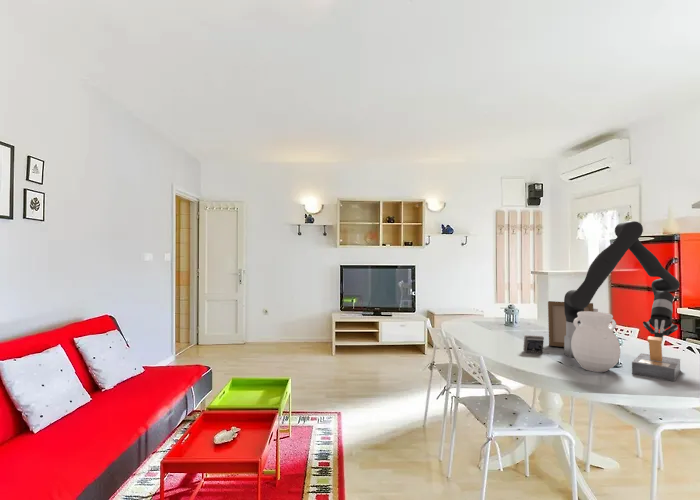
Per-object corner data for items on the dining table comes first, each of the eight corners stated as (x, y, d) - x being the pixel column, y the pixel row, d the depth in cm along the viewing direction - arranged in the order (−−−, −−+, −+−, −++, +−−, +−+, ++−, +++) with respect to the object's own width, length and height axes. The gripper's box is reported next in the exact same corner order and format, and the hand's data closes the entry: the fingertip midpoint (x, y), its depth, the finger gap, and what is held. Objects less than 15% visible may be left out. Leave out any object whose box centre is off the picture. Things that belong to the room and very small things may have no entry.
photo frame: (595, 351, 203) (595, 304, 203) (549, 347, 211) (549, 302, 212) (590, 345, 216) (589, 301, 217) (547, 342, 225) (547, 299, 226)
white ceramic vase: (582, 374, 162) (582, 315, 162) (564, 362, 180) (564, 309, 181) (630, 376, 159) (629, 317, 160) (606, 364, 178) (606, 310, 178)
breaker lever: (649, 360, 167) (647, 339, 164) (650, 356, 169) (648, 336, 166) (662, 362, 164) (661, 341, 161) (663, 358, 166) (662, 337, 163)
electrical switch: (542, 352, 200) (542, 334, 199) (545, 355, 195) (545, 337, 194) (523, 351, 202) (523, 334, 201) (525, 354, 197) (525, 337, 196)
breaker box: (632, 373, 164) (632, 361, 164) (640, 363, 179) (640, 352, 179) (674, 381, 154) (674, 368, 154) (680, 370, 169) (680, 358, 169)
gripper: (643, 304, 181) (638, 334, 172) (679, 307, 172) (676, 338, 163) (645, 314, 185) (640, 343, 176) (681, 317, 175) (678, 348, 166)
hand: (658, 341), depth 169 cm, fingers closed
